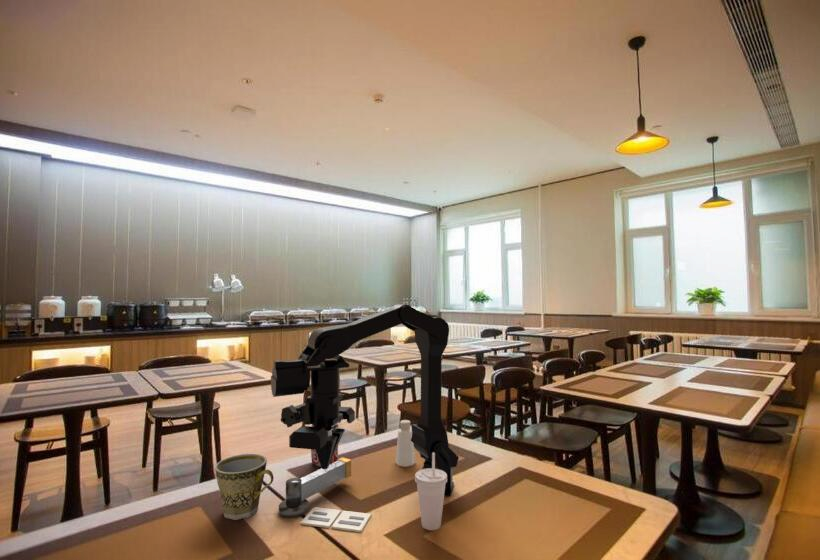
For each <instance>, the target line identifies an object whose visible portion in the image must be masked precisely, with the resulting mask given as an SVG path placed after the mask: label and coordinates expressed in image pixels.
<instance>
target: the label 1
mask: <svg viewBox="0 0 820 560" xmlns="http://www.w3.org/2000/svg"><path fill="white" fill-rule="evenodd" d="M341 513H342V510H340V509H334V508H326V507H316V506H314V507H313V508H312V509H311V510H310V511H308V513H307V515H306V516H305V517H304V518H303V519H302V520H301V521H300V525H301V526H302V525H305V526H310V527H317V528H318V527H319V528H325V529H326V528H327V529H330V527H332V525H333V524H334V522H335V521H336V520H337V518H338V517H339V516H340V514H341Z"/></svg>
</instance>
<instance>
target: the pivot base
mask: <svg viewBox="0 0 820 560" xmlns="http://www.w3.org/2000/svg"><path fill="white" fill-rule="evenodd" d="M307 512H309V500H308V499H305V500H303V501H302V502H301V504H300V505H298V506H295V507H288V506H286V499H284V500H282V501H281V502H280V503H279V504H278V515H279V517H282V518H285V519H295V518H299V517H301V516H304V515H305V514H306V513H307Z"/></svg>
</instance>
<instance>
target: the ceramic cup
mask: <svg viewBox="0 0 820 560" xmlns="http://www.w3.org/2000/svg"><path fill="white" fill-rule="evenodd" d="M267 462H268V460H267V458H266V456H264V455H262V454H257V453H244V454H237V455H232V456H229V457H226V458H224V459H221V460H220V461H219V462H217V463H216V465H215V466H214V470H215V478H216V482H217V487H218V489H219V493H220V494H219V495H220V499H221V506H222V511H223V512H222V513H223V516H224V518H225V519H227V520H228V519H230V520H233V521H237V520H241V519H242V518H243V519H246V518H245V517H247V518H250V517H251V516H253V515H254V514H256V513H257V512H258V511H259V504H260V498H261V493H263V491H264V490H265V489H266V488H268V487H270V486H271V484H272V483H273V481H274V474H273V472H272V471H271V469H266V468H267ZM265 474H266V475H268V476H269V477H270V481H269V483H267V484H266V485H265V486H263V482H264V479H265ZM256 511H257V512H256ZM255 512H256V513H255ZM253 513H254V514H253ZM252 514H253V515H252ZM250 515H251V516H250ZM249 516H250V517H249Z"/></svg>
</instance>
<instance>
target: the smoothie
mask: <svg viewBox="0 0 820 560" xmlns="http://www.w3.org/2000/svg"><path fill="white" fill-rule="evenodd" d="M414 481H415V483H416V486H417V487H416V488H417V495H418V504H419V512H420V514H419V515H420V521H421V526H422V529H425V530H427V531H435V530H438V529H440V528H441V527H442V518H443V517H442V516H443V510H444V509H443V508H444V499H445V496H444V492H445V484H446V482H447V474H446V473H445V472H444V471H442V470H439V469H435V453H434V452H433V453H432V468H426V469H422V468H421V469H420V470H417V471H416V472H415V475H414Z"/></svg>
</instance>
